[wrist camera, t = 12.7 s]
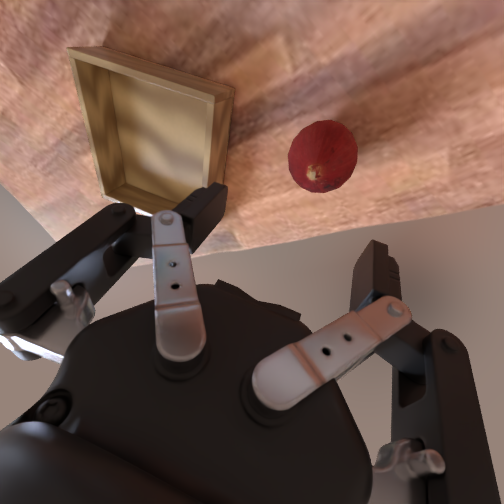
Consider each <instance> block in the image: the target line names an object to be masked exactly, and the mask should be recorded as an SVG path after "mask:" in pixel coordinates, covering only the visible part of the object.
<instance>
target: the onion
mask: <svg viewBox="0 0 504 504" xmlns="http://www.w3.org/2000/svg"><path fill="white" fill-rule="evenodd" d="M357 153H358V147H357V144H356V142H355V139H354V137H353V135H352V133H351V132H350V131H349V130H348V129H347V128H346V127H345V126H344V125H343V124H340V123H338V122H335V121H332V120H324V121H317V122H315V123H313V124H311V125H309V126H307V127H305V128H304V129H302V130H301V131H300V133H299V134H298V135H297V136H296V137H295V138H294V140H293V142H292V145H291V148H290V150H289V153H288V162H289V171H290V173H291V175H292V177H293V179H294V181H295V182H296V183H297V184H298V185H299V186H300V187H302V188H304V189H306V190H308V191H310V192H314V193H326V192H328V191H331V190H334V189H337V188H339V187H341V186H342V185H343V184H344V183H345V182H346V181H347V180H348V179H349V178H350V177H351V175H352V173H353V170H354V168H355V166H356V163H357Z"/></svg>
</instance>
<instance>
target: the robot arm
mask: <svg viewBox="0 0 504 504" xmlns="http://www.w3.org/2000/svg"><path fill="white" fill-rule="evenodd" d="M227 192H228V187H227V186H225V185H223V184H220V183H217V182H213V183H212V184H211V185H210V186H209V187H208V188H205V187H202V188H199V189H196V190H194V191H193V192H192V193H191V194H190V195H188V196H187V197H186V198H185V199H184V200H183V201H182V202H180V203H179V204H178V205H177V206H176V207H175V208H173V209H172V210H162V211H158V212H156V213H155V214H153V216H144V215H137V214H136V212H135V208H134V207H133V206H132V205H130V204H127V203H113V204H110V205H108V206H106V207H105V208H103V209H102V210H101V211H99V212H98V213H96V214H95V215H94V216H92V217H91V218H89V219H88V220H87V221H85V222H84V223H82V224H81V225H80V226H78V227H77V228H76V229H74V230H73V231H71V232H70V233H69V234H67V235H66V236H64V237H63V238H62V239H60V240H59V241H58V242H56V243H55V244H53V245H52V246H51V247H49V248H48V249H47V250H45V251H44V252H42V253H41V254H40V255H38V256H37V257H35V258H34V259H33V260H31V261H30V262H28V263H27V264H26V265H24V266H23V267H22V268H20V269H19V270H17V271H16V272H15V273H13V274H12V275H10V276H9V277H8V278H6V279H5V280H4V281H2V282H1V283H0V342H1V343H2V344H3V345H4V346H5V347H6V348H8V349H9V350H11V351H12V352H13V353H14V354H15V355H16V356H17V357H18V358H20V359H22V360H28V361H29V360H36V359H39V358H41V357H44V358H46V359H49V360H51V361H54V362H56V363H58V364H61V366H60V368H59V370H58V373H57V375H56V377H55V379H54V381H53V382H52V384H51V385H50V387H49V388H48V390H47V392H46V393H45V394H44V395H43V396H42V398H41V399H40V400H39V401H38V402H37V403H35V404H34V405H33V406H32V407H31V408H30V409H28V410H27V411H26V412H25V413H23V415H21V416H20V417H18V418H17V419H16V420H14V421H13V422H12V423H11V424H9V425H7V426H6V427H5V428H3V429H2V430H1V431H0V504H501V501H500V496H499V491H498V487H497V482H496V477H495V473H494V469H493V464H492V460H491V455H490V450H489V446H488V442H487V437H486V432H485V428H484V423H483V419H482V414H481V409H480V405H479V400H478V396H477V391H476V387H475V382H474V378H473V373H472V369H471V364H470V360H469V355H468V351H467V349H466V347H465V346H464V344H463V343H462V342H461V341H460V340H459V339H458V338H457V337H456V336H455V335H453V334H452V333H450V332H448V331H445V330H443V329H435V330H433V331H432V332H429V331H428V330H426V329H425V328H423V327H421V326H420V325H418V324H417V323H415V322H414V321H413V320H412V314H411V311H410V309H409V308H408V307H407V305H406V304H404V303H403V302H402V297H401V286H400V277H399V266H398V264H397V262H396V261H395V259H394V258H393V257H390V256H388V245H386V244H383V243H381V242H378V241H375V240H371V241H370V243H369V244H368V245H367V247H366V248H365V250H364V251H363V253H362V254H361V256H360V257H359V259H358V261H357V262H356V264H355V267H354V270H353V280H352V289H351V300H350V310H349V313H347V314H345V315H343V316H342V317H340V318H338V319H337V320H335V321H333V322H331V323H330V324H328V325H326V326H324V327H323V328H321V329H319V330H318V331H316V332H314V333H312V332H311V330H309V328H308V327H307V326H306V325H305V324H303V323H302V322H301V321H299V320H300V316H301V314H300V313H298V312H295V311H293V310H291V309H288V308H286V307H284V306H281V305H277V304H272V303H267V302H261V301H257V300H255V299H254V298H252V297H251V296H249V295H248V294H247V293H245V292H244V291H242V290H241V289H240V288H238V287H236V286H234V285H231V284H229V283H226V282H224V281H221V280H219V279H218V280H217V282H216V284H215V285H213V284H198V285H196V284H195V279H194V273H193V268H192V262H191V256H190V254H193V253H194V252H195V251H196V250H197V248H198V247H199V246H200V245H201V244H202V242H203V241H204V240H205V239H206V238H207V236H208V235H209V234H210V233H211V231H212V230H213V229H214V228H215V227H216V225H217V224H218V223H219V222H220V221H221V219H222V218H223V215H224V212H225V207H226V200H227ZM139 257H141V258H149V259H153V277H154V296H155V299H154V300H151V301H148V302H146V303H143V304H140V305H138V306H135V307H132V308H129V309H127V310H124V311H121V312H118V313H116V314H113V315H110V316H108V317H105V318H102V319H100V320H97V321H95V322H93V323H92V324H90V322H91V321H92V319H93V318H94V316H95V308H94V305H95V304H96V303H97V302H98V301H99V300H100V299H101V298H102V297H103V295H104V294H105V293H106V292H107V291H108V290H109V289H110V288H111V287H112V286H113V285H114V284H115V283H116V282H117V281H118V280H119V279H120V277H121V276H122V275H123V274H124V273H125V272H126V271H127V270H128V269H129V268H130V267H131V266H132V265H133V264H134V263H135V261H136V260H137V259H138V258H139ZM89 324H90V325H89ZM374 353H376V354H378V355H379V356H380V357H382V358H383V359H384V360H386V361H387V362H388V363H390V364H391V365H392V366H393V367H392V420H391V443H388V444H385V445H383V446H382V447H381V448H380V449H379V452H378V455H377V460H376V463H375V465H374V466H372V464H371V459H370V455H369V452H368V449H367V447H366V445H365V442H364V440H363V438H362V435H361V433H360V431H359V429H358V427H357V425H356V423H355V420H354V419H353V416H352V414H351V412H350V410H349V407H348V405H347V403H346V401H345V399H344V397H343V395H342V392H341V390H340V388H339V386H338V384H337V382H338V381H339V380H340V379H342V378H343V377H344V376H345V375H347V374H348V373H349V372H350V371H351V370H353V369H354V368H356V367H357V366H358V365H359V364H361V363H362V362H364V361H365V360H366V359H368V358H369V357H370V356H372V355H373V354H374Z"/></svg>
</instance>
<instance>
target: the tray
mask: <svg viewBox="0 0 504 504" xmlns="http://www.w3.org/2000/svg"><path fill="white" fill-rule="evenodd" d="M67 52H68V56H69V61H70V65H71V69H72V73H73V77H74V82H75V86H76V90H77V94H78V98H79V103H80V107H81V111H82V115H83V119H84V124H85V128H86V132H87V136H88V140H89V145H90V149H91V153H92V157H93V161H94V166H95V170H96V174H97V178H98V182H99V187H100V191H101V195H102V198H104V199H107V200H109V201H112V202H114V203H127V204H130V205H132V206H133V207H134V208H135V211H136V212H138V213H141V214H143V215H146V216H153V214H155V213H156V212H158V211H162V210H172V209H173V208H175V207H176V206H177V205H178V204H179V203H180V202H182V201H183V200H184V199H185V198H186V197H187V196H188V195H190V194H191V193H192V192H193V191H194V190H196V189H199V188H202V187H205V188H208V187H209V186H210V185H211V184H212V183H213V182H217V183H220V184H223V180H224V172H225V164H226V156H227V148H228V140H229V132H230V124H231V116H232V108H233V101H234V93H235V88H232V87H229V86H226V85H223V84H220V83H217V82H213V81H210V80H207V79H204V78H201V77H198V76H194V75H191V74H188V73H185V72H182V71H179V70H175V69H172V68H169V67H166V66H163V65H160V64H156V63H153V62H150V61H147V60H144V59H141V58H137V57H134V56H131V55H128V54H125V53H122V52H119V51H115V50H112V49H109V48H106V47H103V46H94V47H67Z"/></svg>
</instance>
